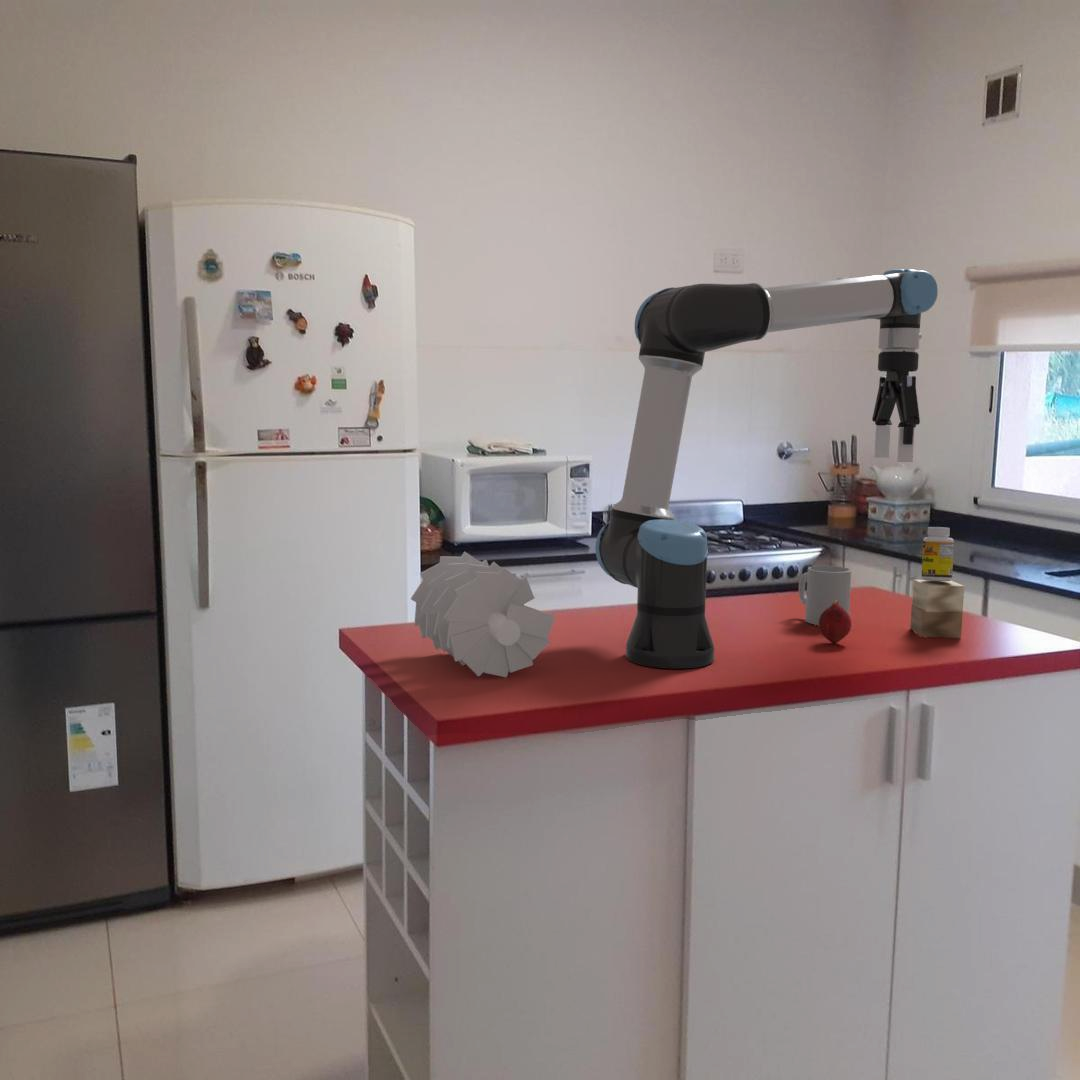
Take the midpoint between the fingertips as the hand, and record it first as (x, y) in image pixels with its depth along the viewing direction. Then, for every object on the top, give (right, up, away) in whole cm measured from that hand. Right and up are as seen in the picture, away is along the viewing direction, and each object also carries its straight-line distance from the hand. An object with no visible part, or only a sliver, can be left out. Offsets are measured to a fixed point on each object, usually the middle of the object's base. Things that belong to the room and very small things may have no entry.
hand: (892, 459), depth 217 cm
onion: (-16, -35, -16) cm, 42 cm away
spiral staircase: (-80, -37, -33) cm, 94 cm away
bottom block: (+6, -34, -6) cm, 35 cm away
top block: (+6, -29, -7) cm, 31 cm away
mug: (-13, -33, +4) cm, 35 cm away
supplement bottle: (+6, -24, -8) cm, 26 cm away
